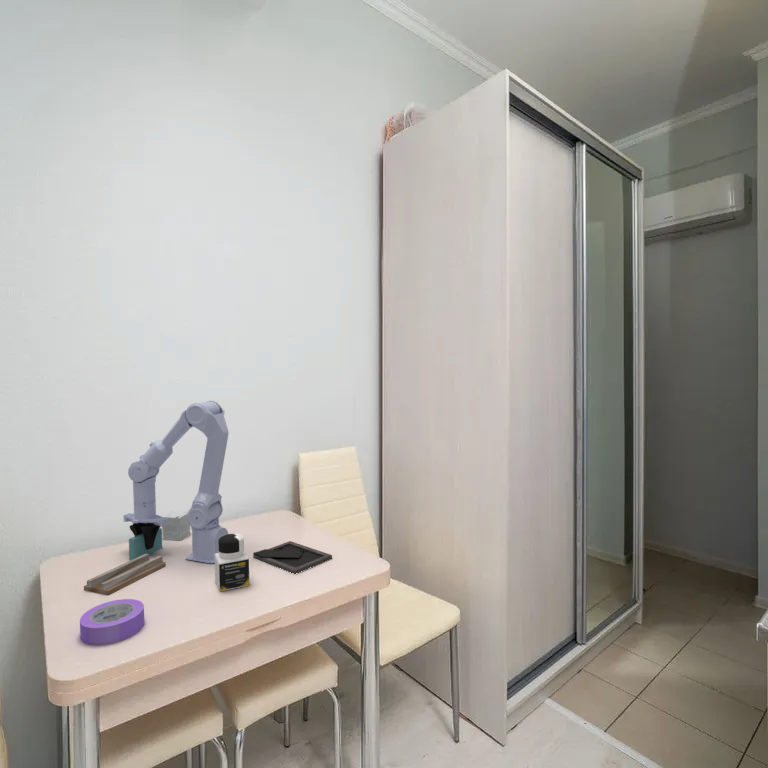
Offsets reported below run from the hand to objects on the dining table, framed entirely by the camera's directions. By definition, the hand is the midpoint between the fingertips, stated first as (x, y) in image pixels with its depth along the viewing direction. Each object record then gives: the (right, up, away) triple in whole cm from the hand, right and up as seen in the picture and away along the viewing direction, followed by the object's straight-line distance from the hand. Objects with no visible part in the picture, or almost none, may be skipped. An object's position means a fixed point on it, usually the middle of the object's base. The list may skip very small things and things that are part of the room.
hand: (146, 548), depth 144 cm
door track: (+3, -2, -16) cm, 16 cm away
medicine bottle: (+31, -3, -20) cm, 37 cm away
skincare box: (+3, -1, +14) cm, 14 cm away
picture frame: (+43, -2, -4) cm, 43 cm away
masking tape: (+13, -4, -41) cm, 43 cm away
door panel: (0, -2, 0) cm, 2 cm away
